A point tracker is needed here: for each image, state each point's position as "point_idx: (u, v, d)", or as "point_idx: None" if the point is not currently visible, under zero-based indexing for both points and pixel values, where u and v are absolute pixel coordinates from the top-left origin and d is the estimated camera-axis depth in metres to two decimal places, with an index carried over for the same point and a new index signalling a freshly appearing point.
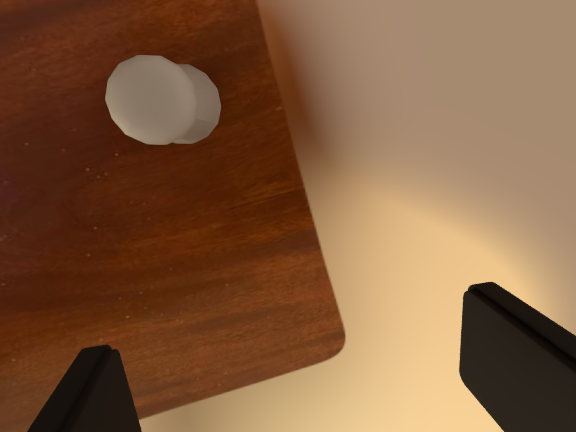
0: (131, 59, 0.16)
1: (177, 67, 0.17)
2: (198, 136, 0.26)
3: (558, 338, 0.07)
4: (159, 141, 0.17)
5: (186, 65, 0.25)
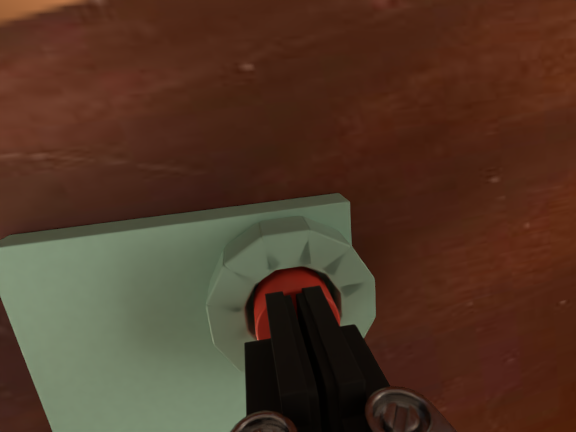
0: None
1: None
2: None
3: (328, 337, 0.08)
4: None
5: None
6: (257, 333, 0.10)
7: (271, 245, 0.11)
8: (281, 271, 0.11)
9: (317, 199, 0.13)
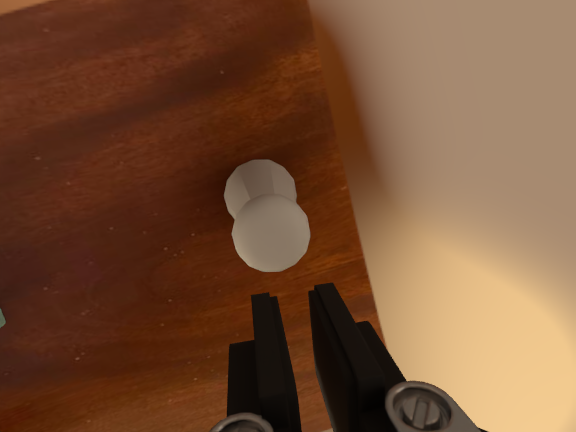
0: (259, 205, 0.18)
1: (297, 207, 0.19)
2: None
3: (344, 333, 0.08)
4: (277, 270, 0.19)
5: (270, 164, 0.26)
6: None
7: None
8: None
9: None
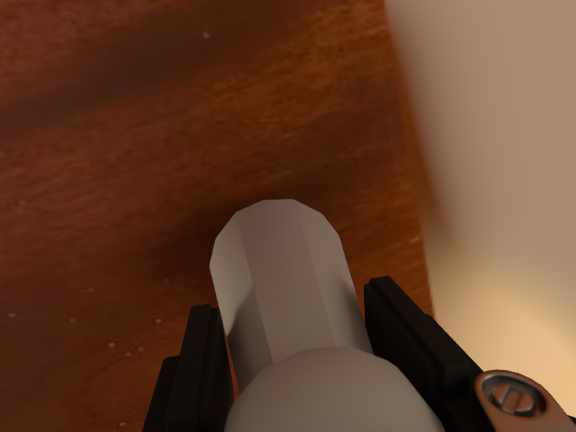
0: None
1: (427, 421, 0.06)
2: None
3: (417, 324, 0.08)
4: None
5: (299, 213, 0.13)
6: None
7: None
8: None
9: None
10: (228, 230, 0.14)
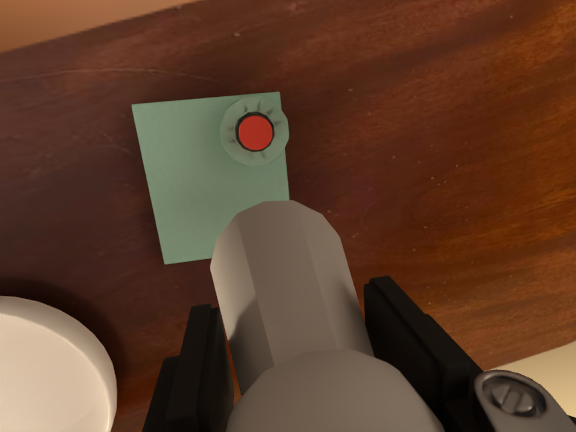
0: None
1: (428, 424, 0.06)
2: None
3: (417, 324, 0.08)
4: None
5: (299, 214, 0.14)
6: (239, 134, 0.27)
7: (245, 101, 0.28)
8: None
9: None
10: (229, 231, 0.14)
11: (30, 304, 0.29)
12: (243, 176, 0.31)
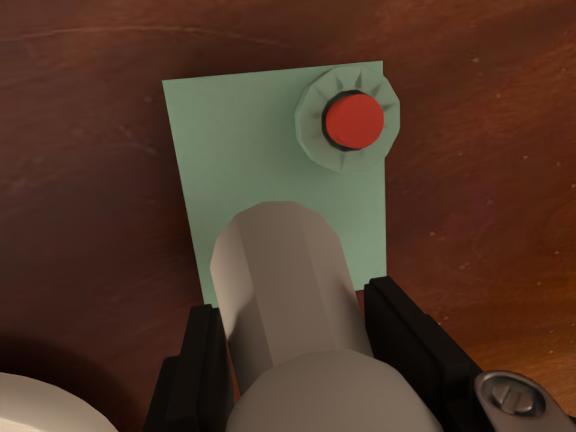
0: None
1: (428, 425, 0.06)
2: None
3: (417, 324, 0.08)
4: None
5: (299, 215, 0.14)
6: (334, 123, 0.17)
7: (339, 73, 0.18)
8: (345, 96, 0.18)
9: None
10: (228, 232, 0.14)
11: (11, 386, 0.19)
12: (323, 187, 0.21)
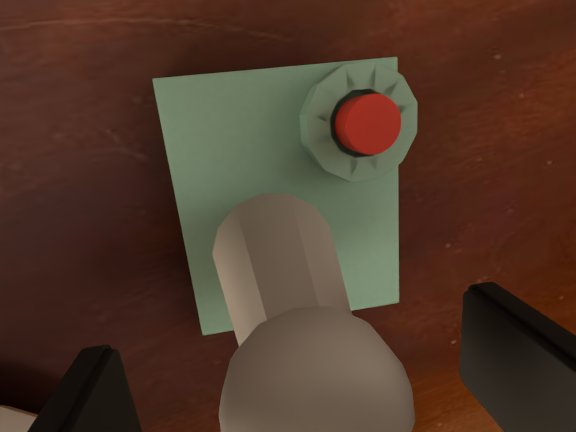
0: (292, 363, 0.07)
1: (388, 358, 0.07)
2: None
3: (558, 338, 0.07)
4: None
5: (292, 204, 0.15)
6: (346, 127, 0.15)
7: (350, 70, 0.16)
8: (357, 96, 0.16)
9: None
10: (229, 220, 0.15)
11: None
12: (331, 197, 0.19)
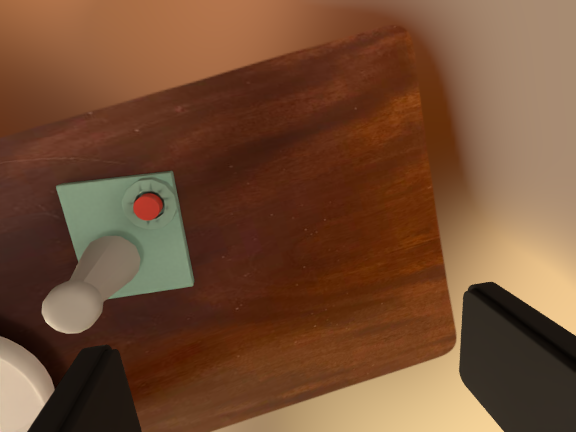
0: (55, 292, 0.28)
1: (84, 292, 0.28)
2: None
3: (558, 338, 0.07)
4: (75, 332, 0.29)
5: (111, 242, 0.36)
6: (133, 209, 0.36)
7: (139, 183, 0.37)
8: (144, 194, 0.37)
9: (162, 172, 0.39)
10: (86, 248, 0.36)
11: None
12: (147, 234, 0.40)
